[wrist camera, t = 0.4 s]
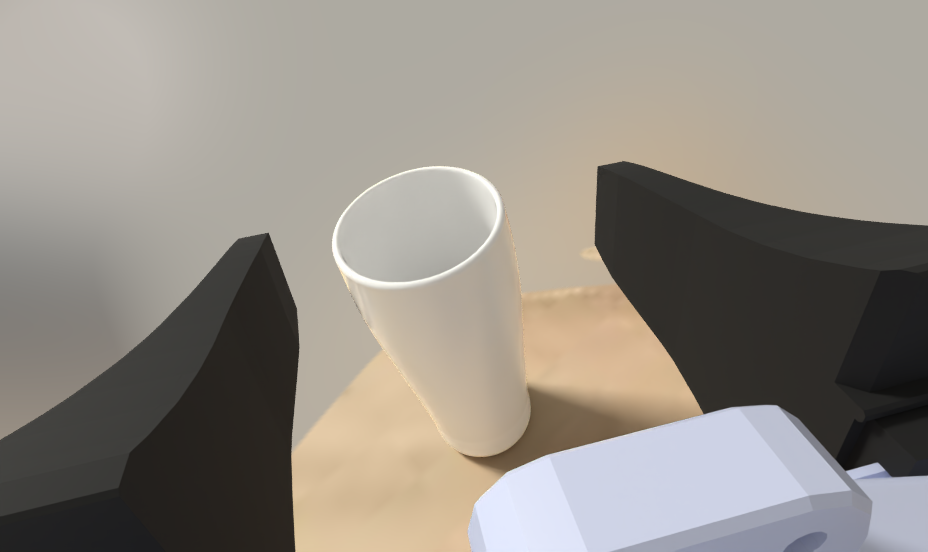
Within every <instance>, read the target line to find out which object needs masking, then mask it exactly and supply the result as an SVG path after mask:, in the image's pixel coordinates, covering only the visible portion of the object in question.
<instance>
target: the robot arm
mask: <svg viewBox="0 0 928 552" xmlns="http://www.w3.org/2000/svg"><path fill="white" fill-rule="evenodd" d="M595 246H596V248H597V250H598V252H599V254H600V256H601V258H602V260H603V262H604V263H605V265H606V267H607V269H608V271H609V272H610V274H611V276H612V278H613V279H614V281H615V282H616V283H617V285H618V286H619V287H620V289H621V290H622V292H623V293H624V294H625V296H626V297H627V298H628V300H629V301H630V302H631V304H632V305H633V306H634V308H635V309H636V310H637V312H638V313H639V314H640V316H641V317H642V318H643V320H644V321H645V322H646V324H647V325H648V326H649V327H650V329H651V330H652V331H653V333H654V334H655V335H656V337H657V338H658V339H659V341H660V342H661V343H662V345H663V346H664V348H665V349H666V351H667V352H668V353H669V355H670V356H671V358H672V359H673V361H674V362H675V364H676V366H677V368H678V369H679V371H680V373H681V374H682V376H683V378H684V380H685V381H686V383H687V385H688V386H689V388H690V390H691V392H692V393H693V395H694V397H695V399H696V400H697V402H698V404H699V406H700V408H701V410H702V412H703V413H704V415H700V416H696V417H692V418H688V419H684V420H680V421H676V422H673V423H669V424H665V425H661V426H657V427H653V428H649V429H646V430H642V431H638V432H634V433H630V434H626V435H622V436H618V437H615V438H611V439H607V440H603V441H599V442H595V443H591V444H588V445H584V446H580V447H576V448H572V449H568V450H564V451H560V452H557V453H553V454H549V455H546V456H543V457H541V458H539V459H536V460H534V461H532V462H529V463H527V464H525V465H522V466H520V467H518V468H515V469H513V470H511V471H508V472H507V473H506V474H505V475H503V476H502V477H501V478H500V479H499V480H498V481H497V482H496V483H495V484H494V485H493V486H492V487H491V488H489V489H488V490H487V491H486V492H485V493H484V494H483V495H482V496H481V497H480V498H479V499H478V501H477V502H476V503H475V505H474V509H473V513H472V516H471V520H470V524H469V528H468V537H469V542H470V547H471V552H928V226H924V225H909V224H893V223H882V222H881V223H880V222H871V221H861V220H853V219H845V218H839V217H831V216H823V215H818V214H811V213H806V212H800V211H795V210H791V209H786V208H781V207H776V206H771V205H767V204H763V203H759V202H754V201H751V200H747V199H744V198H740V197H737V196H733V195H730V194H726V193H723V192H720V191H716V190H713V189H710V188H707V187H704V186H701V185H698V184H695V183H692V182H689V181H686V180H683V179H680V178H677V177H674V176H672V175H669V174H666V173H663V172H660V171H657V170H654V169H651V168H648V167H645V166H641V165H638V164H634V163H630V162H625V161H622V162H618V163H613V164H608V165H603V166H598V171H597V196H596V222H595ZM298 358H299V333H298V319H297V308H296V305H295V303H294V300H293V297H292V295H291V292H290V289H289V286H288V284H287V281H286V278H285V276H284V273H283V270H282V268H281V265H280V262H279V260H278V257H277V254H276V251H275V249H274V246H273V243H272V241H271V238H270V235H269V233H265V234H260V235H255V236H250V237H245V238H241V239H238V240H237V241H236V242H235V243H234V244H233V245H232V246H231V247H230V248H229V250H228V251H227V252H226V253H225V254H224V255H223V257H222V258H221V259H220V260H219V261H218V263H217V264H216V265H215V266H214V267H213V269H212V270H211V271H210V272H209V273H208V274H207V276H206V277H205V278H204V279H203V280H202V281H201V282H200V283H199V285H198V286H197V287H196V288H195V289H194V290H193V291H192V293H191V294H190V295H189V296H188V297H187V298H186V299H185V300H184V301H183V302H182V303H181V304H180V305H179V306H178V307H177V308H176V309H175V310H174V311H173V312H172V313H171V314H170V315H169V316H168V318H167V319H166V320H165V321H164V322H163V323H162V324H161V325H160V326H158V328H156V330H154V331H153V332H152V333H151V334H150V335H149V336H148V337H147V338H146V339H145V340H143V341H142V342H141V343H140V344H139V345H137V346H136V347H135V348H134V349H133V350H132V351H130V352H129V353H128V354H127V355H126V356H124V357H123V358H122V359H121V360H119V361H118V362H117V363H116V364H114V365H113V366H112V367H110V368H109V369H108V370H106V371H105V372H103V373H102V374H101V375H99V376H98V377H97V378H96V379H94V380H93V381H91V382H90V383H88V384H87V385H86V386H84V387H83V388H81V389H80V390H79V391H77V392H76V393H75V394H73V395H72V396H70V397H69V398H67V399H66V400H64V401H63V402H61V403H60V404H58V405H57V406H55V407H54V408H52V409H51V410H49V411H47V412H46V413H44V414H43V415H41V416H39V417H38V418H36V419H35V420H33V421H31V422H30V423H28V424H27V425H25V426H23V427H21V428H20V429H18V430H16V431H15V432H13V433H11V434H10V435H8V436H6V437H4V438H3V439H1V440H0V552H295V538H294V518H293V497H292V465H291V447H292V446H291V445H292V429H293V417H294V405H295V394H296V382H297V371H298Z"/></svg>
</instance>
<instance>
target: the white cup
mask: <svg viewBox="0 0 928 552" xmlns="http://www.w3.org/2000/svg"><path fill="white" fill-rule="evenodd" d="M332 250H333V255H334V259H335V261H336V263H337V265H338V267H339V269H340V272H341V274H342V276H343V278H344V281H345V283H346V285H347V288H348V290H349V292H350V294H351V296H352V298H353V300H354V302H355V304H356V306H357V308H358V310H359V312H360V314H361V315H362V317H363V319H364V321H365V322H366V324H367V326H368V327H369V329H370V331H371V332H372V334H373V335H374V337H375V338H376V340H377V341H378V343H379V344H380V346H381V347H382V349H383V350H384V352H385V353H386V354H387V356H388V357H389V359H390V360H391V361H392V363H393V364H394V366H395V367H396V368H397V370H398V371H399V373H400V374H401V375H402V377H403V378H404V380H405V381H406V382H407V384H408V385H409V387H410V388H411V389H412V391H413V392H414V394H415V395H416V397H417V398H418V399H419V401H420V402H421V404H422V405H423V406H424V408H425V409H426V411H427V412H428V414H429V415H430V417H431V418H432V420H433V421H434V423H435V425H436V427H437V429H438V431H439V433H440V435H441V436H442V438H443V439H444V440H445V442H446V443H447V444H448V445H449V446H451V447H452V448H453V449H455V450H456V451H458V452H460V453H462V454H465V455H468V456H473V457H488V456H493V455H496V454H499V453H501V452H504V451H505V450H507V449H509V448H510V447H512V446H513V445H514V444H515V443H516V442H517V441H518V440H519V439H520V438H521V437H522V435H523V434H524V432H525V430H526V428H527V426H528V423H529V420H530V414H531V403H530V397H529V393H528V388H527V376H526V362H525V346H524V329H523V311H522V295H521V284H520V276H519V269H518V263H517V257H516V251H515V246H514V241H513V237H512V233H511V229H510V225H509V221H508V217H507V214H506V210H505V205H504V202H503V199H502V197H501V195H500V193H499V191H498V190H497V189H496V187H495V186H494V185H493V184H492V183H491V182H490V181H489V180H487V179H486V178H484V177H483V176H481V175H479V174H477V173H475V172H472V171H469V170H466V169H461V168H457V167H445V166H434V167H425V168H418V169H413V170H409V171H405V172H402V173H399V174H396V175H394V176H391V177H389V178H387V179H385V180H383V181H381V182H379V183H377V184H375V185H374V186H372V187H370V188H369V189H367V190H366V191H365V192H363V193H362V194H361V195H360V196H358V197H357V198H356V199H355V200H354V201H353V202H352V203H351V204H350V205H349V206H348V207H347V209H346V210H345V211H344V213H343V214H342V216H341V217H340V219H339V221H338V223H337V225H336V228H335V230H334V234H333V240H332Z"/></svg>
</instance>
